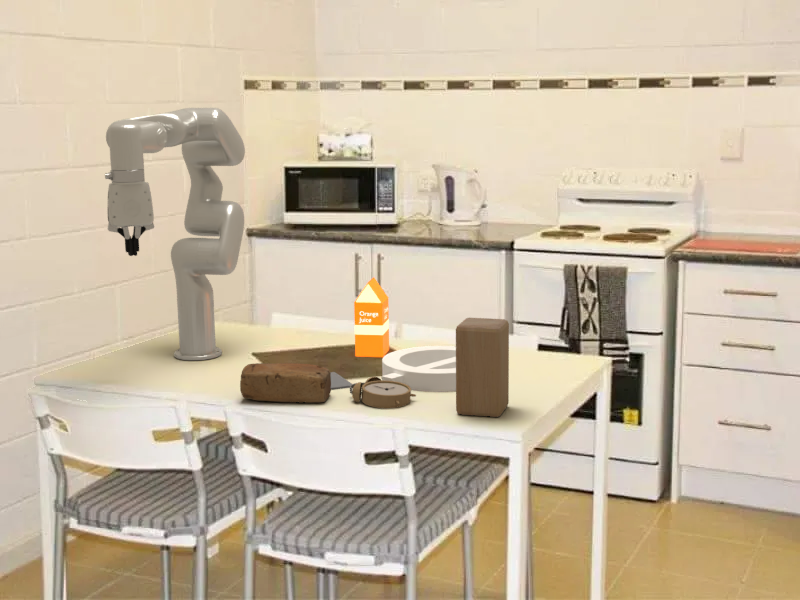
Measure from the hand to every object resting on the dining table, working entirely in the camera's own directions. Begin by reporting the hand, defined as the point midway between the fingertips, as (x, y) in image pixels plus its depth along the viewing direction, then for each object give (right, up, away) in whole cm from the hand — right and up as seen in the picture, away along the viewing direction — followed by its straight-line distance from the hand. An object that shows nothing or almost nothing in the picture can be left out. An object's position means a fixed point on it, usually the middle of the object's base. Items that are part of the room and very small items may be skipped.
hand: (132, 254), depth 273 cm
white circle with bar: (+73, -30, +12) cm, 80 cm away
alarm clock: (+58, -34, -9) cm, 68 cm away
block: (+27, -29, -5) cm, 40 cm away
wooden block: (+81, -35, -18) cm, 90 cm away
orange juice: (+56, -25, +36) cm, 71 cm away
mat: (+39, -31, +5) cm, 50 cm away
